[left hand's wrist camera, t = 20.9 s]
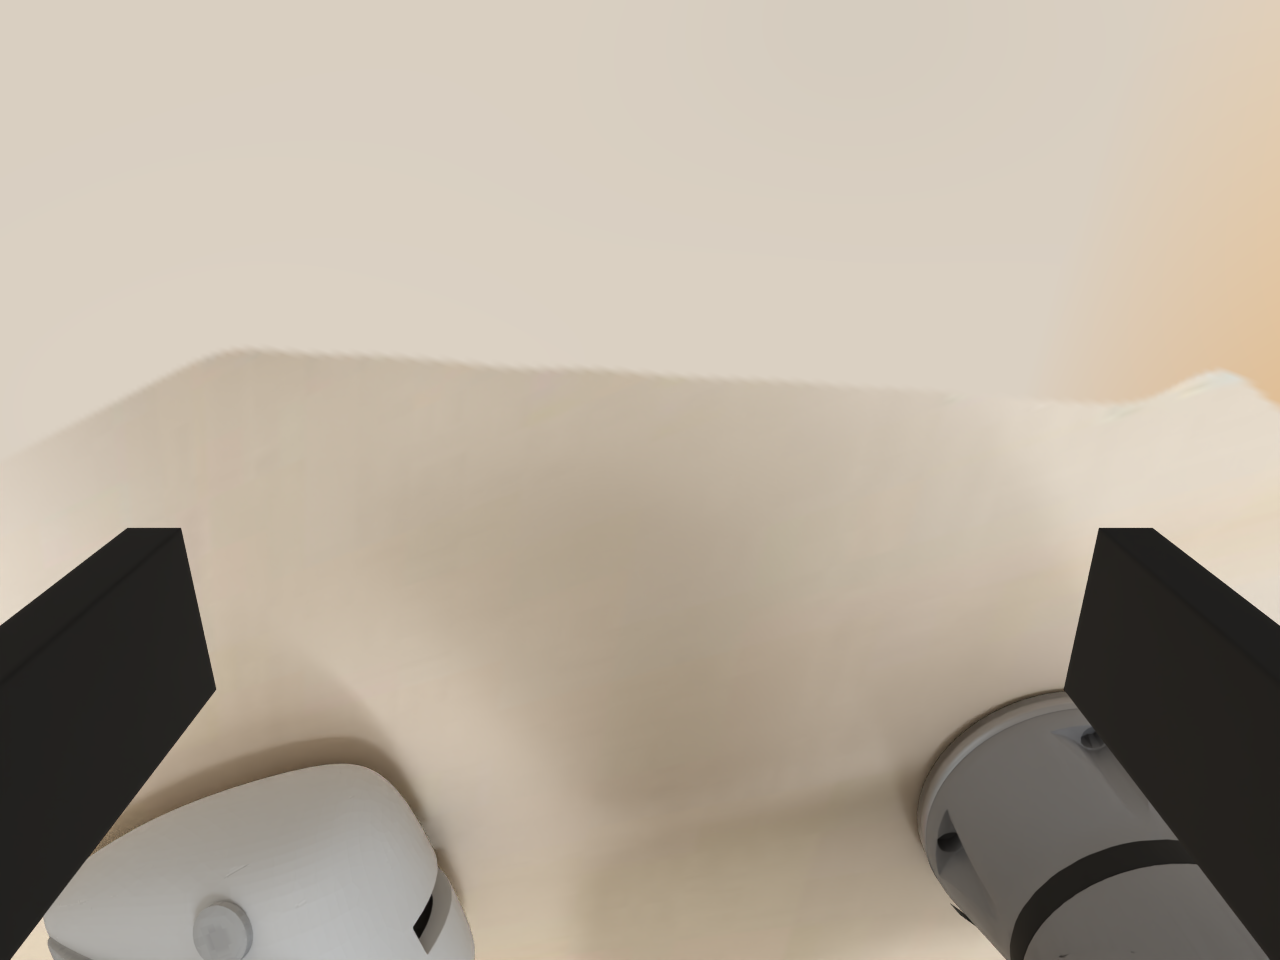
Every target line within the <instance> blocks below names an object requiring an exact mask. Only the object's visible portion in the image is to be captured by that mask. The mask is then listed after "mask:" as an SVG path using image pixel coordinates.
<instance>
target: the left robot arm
mask: <svg viewBox="0 0 1280 960" xmlns="http://www.w3.org/2000/svg"><path fill="white" fill-rule="evenodd" d="M215 691H216V686H215V682H214V677H213V672H212V668H211V663H210V659H209V654H208V649H207V645H206V640H205V636H204V631H203V627H202V622H201V617H200V613H199V608H198V604H197V599H196V594H195V590H194V585H193V581H192V576H191V571H190V567H189V562H188V558H187V553H186V549H185V544H184V539H183V535H182V530H181V528H127V529H125V530H124V531H123V532H122V533H120V534H119V535H118V536H116V537H115V538H114V539H112V540H111V541H110V542H109V543H107V544H106V545H105V546H103V547H102V548H101V549H99V550H98V551H97V552H96V553H94V554H93V555H92V556H90V557H89V558H88V559H86V560H85V561H84V562H83V563H81V564H80V565H79V566H77V567H76V568H75V569H73V570H72V571H71V572H70V573H68V574H67V575H66V576H64V577H63V578H62V579H60V580H59V581H58V582H57V583H55V584H54V585H53V586H51V587H50V588H49V589H47V590H46V591H45V592H44V593H42V594H41V595H40V596H38V597H37V598H36V599H34V600H33V601H32V602H31V603H29V604H28V605H27V606H25V607H24V608H23V609H21V610H20V611H19V612H18V613H16V614H15V615H14V616H12V617H11V618H10V619H8V620H7V621H6V622H4V623H3V624H2V625H1V626H0V960H10V959H11V958H12V957H13V955H14V954H15V953H16V951H17V950H18V949H19V947H20V946H21V945H22V944H23V942H24V941H25V940H26V938H27V937H28V936H29V934H30V933H31V932H32V930H33V929H34V928H35V926H36V925H37V924H38V923H39V921H40V920H41V919H42V917H43V916H44V915H45V913H46V912H47V911H48V909H49V908H50V907H51V906H52V904H53V903H54V902H55V900H56V899H57V898H58V896H59V895H60V894H61V892H62V891H63V890H64V888H65V887H66V886H67V885H68V883H69V882H70V881H71V879H72V878H73V877H74V875H75V874H76V873H77V871H78V870H79V869H80V868H81V866H82V865H83V864H84V862H85V861H86V860H87V858H88V857H89V856H90V854H91V853H92V852H93V850H94V849H95V848H96V847H97V845H98V844H99V843H100V841H101V840H102V839H103V837H104V836H105V835H106V833H107V832H108V831H109V829H110V828H111V827H112V826H113V824H114V823H115V822H116V820H117V819H118V818H119V816H120V815H121V814H122V812H123V811H124V810H125V809H126V807H127V806H128V805H129V803H130V802H131V801H132V799H133V798H134V797H135V795H136V794H137V793H138V791H139V790H140V789H141V788H142V786H143V785H144V784H145V782H146V781H147V780H148V778H149V777H150V776H151V774H152V773H153V772H154V770H155V769H156V768H157V767H158V765H159V764H160V763H161V761H162V760H163V759H164V757H165V756H166V755H167V753H168V752H169V751H170V750H171V748H172V747H173V746H174V744H175V743H176V742H177V740H178V739H179V738H180V736H181V735H182V734H183V732H184V731H185V730H186V729H187V727H188V726H189V725H190V723H191V722H192V721H193V719H194V718H195V717H196V715H197V714H198V713H199V712H200V710H201V709H202V708H203V706H204V705H205V704H206V702H207V701H208V700H209V698H210V697H211V696H212V694H213V693H214V692H215ZM917 823H918V832H919V836H920V840H921V843H922V846H923V848H924V851H925V853H926V856H927V858H928V861H929V864H930V866H931V868H932V870H933V872H934V874H935V876H936V878H937V879H938V880H939V882H940V884H941V885H942V887H943V888H944V890H945V891H946V893H947V894H948V895H949V897H950V898H951V899H952V900H953V901H954V902H955V903H956V905H957V906H958V907H959V908H960V909H961V910H962V911H963V912H964V913H965V914H964V913H963V912H961V911H960V910H959V909H957V908H956V907H955V906H953V905H952V904H951V905H952V906H953V907H954V908H955V910H956V911H957V912H958V913H959V914H960V915H961V916H962V917H964V918H965V919H967V920H968V921H969V922H971V923H972V924H973V925H975V926H976V927H977V928H978V929H979V930H980V931H981V932H982V933H983V934H984V936H985V937H986V938H987V939H988V940H989V941H990V942H991V943H992V944H993V946H994V947H995V948H996V949H997V950H998V951H999V952H1000V953H1001V954H1002V956H1003V957H1004V958H1005V959H1006V960H1280V626H1279V625H1278V624H1277V623H1276V622H1274V621H1273V620H1272V619H1270V618H1269V617H1268V616H1266V615H1265V614H1264V613H1262V612H1261V611H1260V610H1259V609H1257V608H1256V607H1255V606H1253V605H1252V604H1251V603H1249V602H1248V601H1247V600H1246V599H1244V598H1243V597H1242V596H1240V595H1239V594H1238V593H1236V592H1235V591H1234V590H1233V589H1231V588H1230V587H1229V586H1227V585H1226V584H1225V583H1223V582H1222V581H1221V580H1220V579H1218V578H1217V577H1216V576H1214V575H1213V574H1212V573H1210V572H1209V571H1208V570H1207V569H1205V568H1204V567H1203V566H1201V565H1200V564H1199V563H1197V562H1196V561H1195V560H1194V559H1192V558H1191V557H1190V556H1188V555H1187V554H1186V553H1184V552H1183V551H1182V550H1181V549H1179V548H1178V547H1177V546H1175V545H1174V544H1173V543H1171V542H1170V541H1169V540H1168V539H1166V538H1165V537H1164V536H1162V535H1161V534H1160V533H1158V532H1157V531H1156V530H1155V529H1153V528H1099V530H1098V535H1097V539H1096V544H1095V549H1094V553H1093V558H1092V562H1091V567H1090V571H1089V576H1088V581H1087V585H1086V590H1085V594H1084V599H1083V604H1082V608H1081V613H1080V617H1079V622H1078V627H1077V631H1076V636H1075V640H1074V645H1073V649H1072V654H1071V659H1070V663H1069V668H1068V672H1067V677H1066V682H1065V686H1064V692H1055V693H1049V694H1044V695H1039V696H1035V697H1031V698H1028V699H1025V700H1021V701H1018V702H1016V703H1013V704H1011V705H1008V706H1006V707H1003V708H1001V709H999V710H997V711H995V712H993V713H991V714H989V715H988V716H986V717H984V718H983V719H981V720H979V721H978V722H976V723H975V724H974V725H972V726H971V727H969V728H968V729H967V730H966V731H964V732H963V733H962V734H961V735H960V736H958V737H957V738H956V739H955V740H954V741H953V742H952V743H951V744H950V745H949V746H948V747H947V748H946V750H945V751H944V752H943V753H942V754H941V756H940V757H939V758H938V760H937V761H936V763H935V764H934V765H933V767H932V769H931V771H930V772H929V774H928V776H927V778H926V781H925V783H924V785H923V788H922V791H921V795H920V798H919V804H918V812H917Z"/></svg>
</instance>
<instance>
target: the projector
mask: <svg viewBox="0 0 1280 960" xmlns="http://www.w3.org/2000/svg"><path fill="white" fill-rule="evenodd" d="M43 918H44V923H45V927H46V930H47V932H48V935H49V937H50V938H49V939H48V947H49V950H50V952H51V955H52V957H53V959H54V960H475V947H474V941H473V936H472V932H471V929H470V926H469V923H468V920H467V918H466V915H465V913H464V910H463V908H462V906H461V904H460V902H459V900H458V897H457V895H456V893H455V891H454V889H453V887H452V885H451V883H450V881H449V879H448V878H447V876H446V875H445V873H444V872H443V871H442V870H441V869H440V868H438V865H437V857H436V854H435V852H434V850H433V848H432V846H431V844H430V842H429V840H428V838H427V836H426V834H425V832H424V831H423V829H422V827H421V825H420V823H419V822H418V820H417V818H416V816H415V815H414V813H413V812H412V810H411V808H410V807H409V805H408V803H407V802H406V801H405V800H404V798H403V797H402V796H401V794H400V793H399V792H398V791H397V789H396V788H395V787H394V786H393V785H392V784H391V783H390V782H389V781H388V780H386V779H385V778H384V777H383V776H381V775H380V774H379V773H377V772H375V771H373V770H371V769H369V768H367V767H364V766H360V765H354V764H328V765H321V766H314V767H308V768H304V769H299V770H295V771H290V772H286V773H282V774H278V775H275V776H271V777H267V778H263V779H260V780H256V781H253V782H250V783H246V784H243V785H240V786H237V787H233V788H230V789H227V790H224V791H222V792H219V793H216V794H213V795H210V796H207V797H204V798H202V799H199V800H197V801H194V802H192V803H189V804H187V805H184V806H182V807H179V808H177V809H175V810H173V811H170V812H168V813H166V814H164V815H161V816H159V817H157V818H155V819H153V820H151V821H149V822H147V823H145V824H143V825H141V826H139V827H137V828H135V829H133V830H132V831H130V832H128V833H126V834H125V835H123V836H121V837H119V838H118V839H116V840H114V841H113V842H111V843H109V844H108V845H106V846H105V847H103V848H101V849H100V850H99V851H97V852H96V853H94V854H93V855H91V856H90V857H89V858H87V860H86V861H85V862H84V864H83V865H82V866H81V868H80V869H79V870H78V871H77V873H76V874H75V875H74V877H73V878H72V879H71V881H70V882H69V883H68V885H67V886H66V887H65V888H64V890H63V891H62V892H61V894H60V895H59V896H58V898H57V899H56V900H55V902H54V903H53V904H52V906H51V907H50V908H49V909H48V911H47V912H46V913H45V915H44V916H43Z"/></svg>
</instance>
